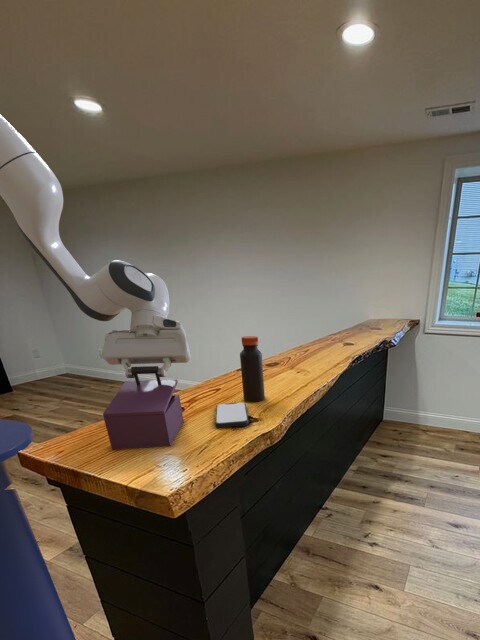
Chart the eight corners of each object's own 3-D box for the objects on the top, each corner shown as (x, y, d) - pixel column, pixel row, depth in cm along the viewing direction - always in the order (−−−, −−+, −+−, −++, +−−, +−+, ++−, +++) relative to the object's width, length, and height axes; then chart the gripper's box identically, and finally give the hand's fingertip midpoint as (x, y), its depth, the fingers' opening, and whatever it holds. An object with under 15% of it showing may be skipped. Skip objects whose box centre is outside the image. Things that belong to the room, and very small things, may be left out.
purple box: (134, 424, 93) (128, 396, 90) (183, 422, 95) (179, 394, 92) (111, 449, 79) (103, 417, 76) (170, 446, 81) (164, 414, 78)
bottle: (268, 398, 116) (265, 336, 108) (256, 403, 110) (251, 339, 102) (252, 395, 119) (247, 335, 111) (239, 400, 113) (233, 337, 105)
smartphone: (249, 426, 93) (246, 406, 107) (249, 420, 92) (245, 401, 106) (215, 429, 91) (216, 409, 105) (214, 423, 90) (215, 403, 104)
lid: (126, 383, 89) (119, 363, 86) (177, 382, 91) (173, 362, 88) (103, 417, 76) (95, 394, 73) (164, 414, 78) (158, 391, 75)
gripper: (100, 322, 86) (93, 371, 81) (187, 322, 89) (185, 368, 84) (111, 338, 92) (106, 384, 87) (192, 337, 95) (191, 381, 90)
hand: (146, 376), depth 85 cm, fingers closed on lid, 6 cm apart
